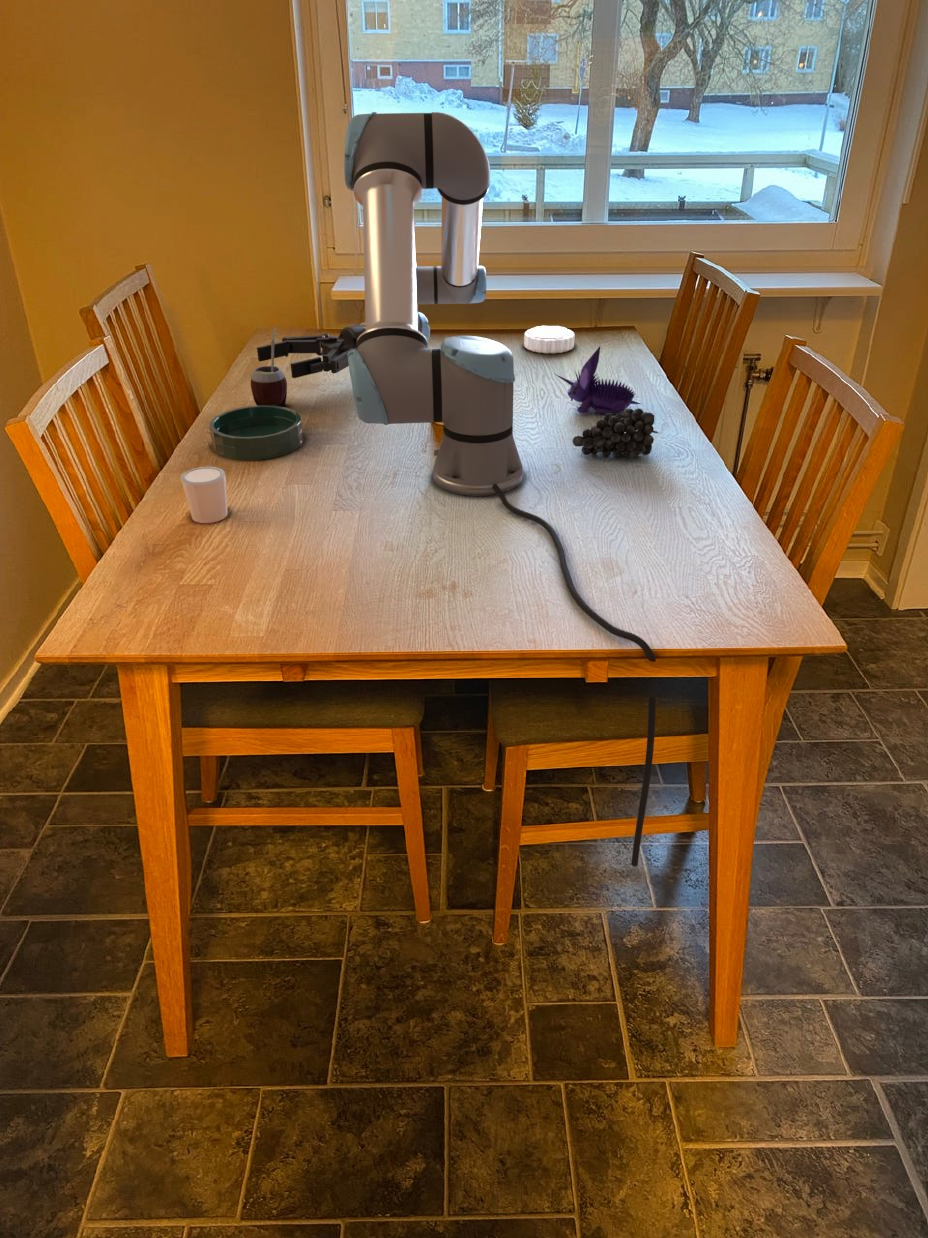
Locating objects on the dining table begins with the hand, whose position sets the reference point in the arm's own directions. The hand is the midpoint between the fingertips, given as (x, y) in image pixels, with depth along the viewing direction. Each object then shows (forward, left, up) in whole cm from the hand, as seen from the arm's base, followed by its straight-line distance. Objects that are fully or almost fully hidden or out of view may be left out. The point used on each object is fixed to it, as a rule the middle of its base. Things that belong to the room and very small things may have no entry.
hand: (274, 362), depth 186 cm
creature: (-16, -63, -9) cm, 65 cm away
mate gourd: (-1, +1, -9) cm, 9 cm away
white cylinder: (-48, +12, -9) cm, 50 cm away
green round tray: (-19, +4, -9) cm, 21 cm away
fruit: (-38, -59, -9) cm, 70 cm away
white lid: (+27, -65, -9) cm, 71 cm away
